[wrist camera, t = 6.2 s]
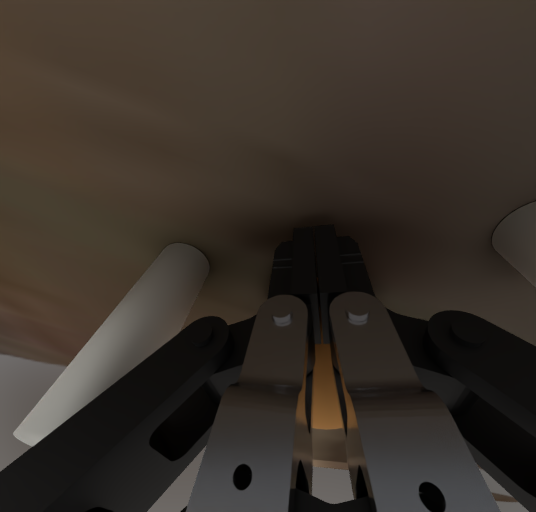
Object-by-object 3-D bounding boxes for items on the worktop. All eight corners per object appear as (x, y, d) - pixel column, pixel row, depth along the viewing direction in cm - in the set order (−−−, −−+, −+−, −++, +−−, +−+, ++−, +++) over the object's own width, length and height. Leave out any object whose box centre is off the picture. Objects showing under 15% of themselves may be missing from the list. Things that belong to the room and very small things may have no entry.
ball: (415, 490, 8) (360, 379, 14) (440, 304, 7) (372, 274, 13) (229, 460, 8) (255, 366, 14) (241, 285, 8) (263, 265, 14)
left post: (198, 240, 12) (71, 435, 5) (216, 279, 13) (133, 469, 7) (152, 245, 12) (-11, 427, 6) (174, 282, 14) (61, 460, 7)
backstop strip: (403, 424, 21) (416, 469, 19) (401, 433, 22) (412, 476, 20) (290, 418, 23) (288, 457, 21) (293, 426, 24) (292, 464, 22)
